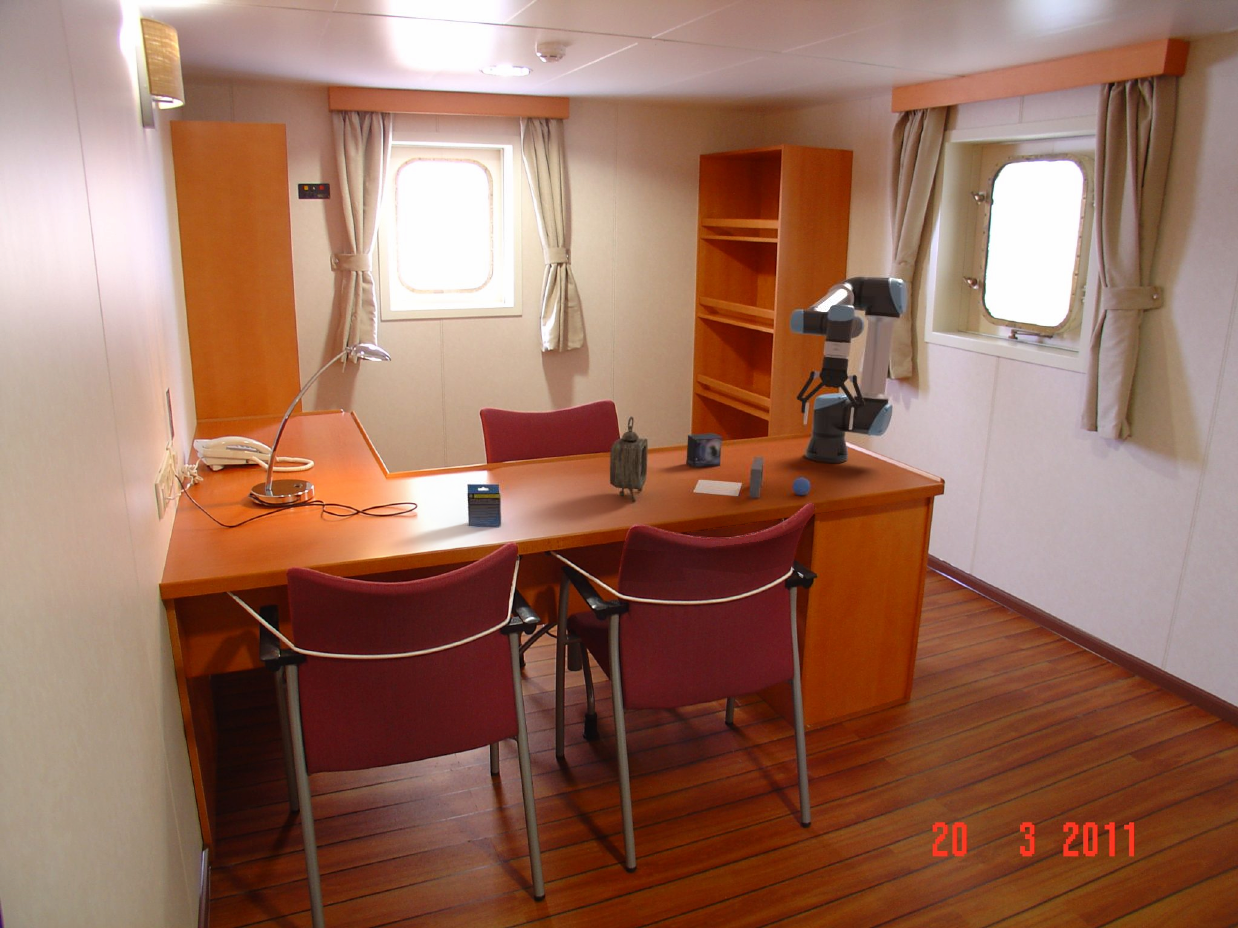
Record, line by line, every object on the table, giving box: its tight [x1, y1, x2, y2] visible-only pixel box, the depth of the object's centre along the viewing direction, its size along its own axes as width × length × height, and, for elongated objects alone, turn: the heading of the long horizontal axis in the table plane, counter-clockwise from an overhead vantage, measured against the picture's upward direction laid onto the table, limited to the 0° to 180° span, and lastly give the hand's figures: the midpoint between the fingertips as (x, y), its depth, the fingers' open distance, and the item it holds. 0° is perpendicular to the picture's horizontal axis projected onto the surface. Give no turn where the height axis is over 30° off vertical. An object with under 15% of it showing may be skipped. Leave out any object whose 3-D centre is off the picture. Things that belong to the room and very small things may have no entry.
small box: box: [685, 432, 723, 469], centre depth 310 cm, size 11×6×10 cm, turn 112°
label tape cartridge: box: [466, 483, 502, 527], centre depth 246 cm, size 9×4×12 cm, turn 92°
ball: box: [792, 477, 811, 496], centre depth 279 cm, size 6×6×6 cm
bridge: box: [748, 456, 765, 499], centre depth 281 cm, size 3×14×9 cm, turn 168°
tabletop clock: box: [609, 416, 648, 503], centre depth 272 cm, size 14×9×25 cm, turn 168°
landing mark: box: [692, 479, 743, 497], centre depth 285 cm, size 14×14×1 cm
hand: (827, 426), depth 272 cm, fingers open, 13 cm apart
